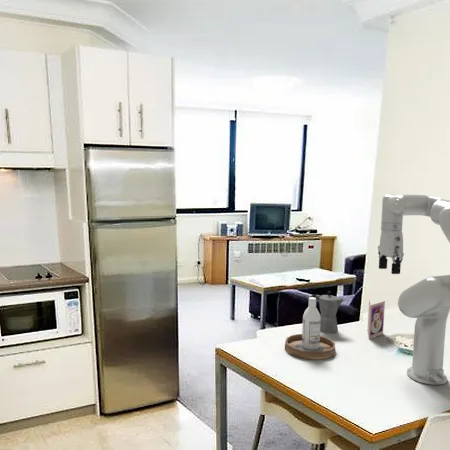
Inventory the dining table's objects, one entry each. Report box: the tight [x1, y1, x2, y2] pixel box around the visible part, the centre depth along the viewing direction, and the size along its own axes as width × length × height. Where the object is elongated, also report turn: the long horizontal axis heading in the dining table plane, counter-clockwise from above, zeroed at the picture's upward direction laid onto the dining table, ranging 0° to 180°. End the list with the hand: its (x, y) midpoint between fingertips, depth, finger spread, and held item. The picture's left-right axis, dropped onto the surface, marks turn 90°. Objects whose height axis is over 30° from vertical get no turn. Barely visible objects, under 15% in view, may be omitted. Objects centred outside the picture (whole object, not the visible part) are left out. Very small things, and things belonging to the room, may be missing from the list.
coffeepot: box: [310, 290, 345, 334], centre depth 192 cm, size 15×9×18 cm, turn 67°
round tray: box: [284, 333, 337, 361], centre depth 169 cm, size 20×20×3 cm
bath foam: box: [301, 296, 321, 350], centre depth 167 cm, size 7×7×20 cm
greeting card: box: [366, 299, 386, 340], centre depth 187 cm, size 11×7×15 cm, turn 129°
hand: (389, 271), depth 162 cm, fingers open, 9 cm apart
